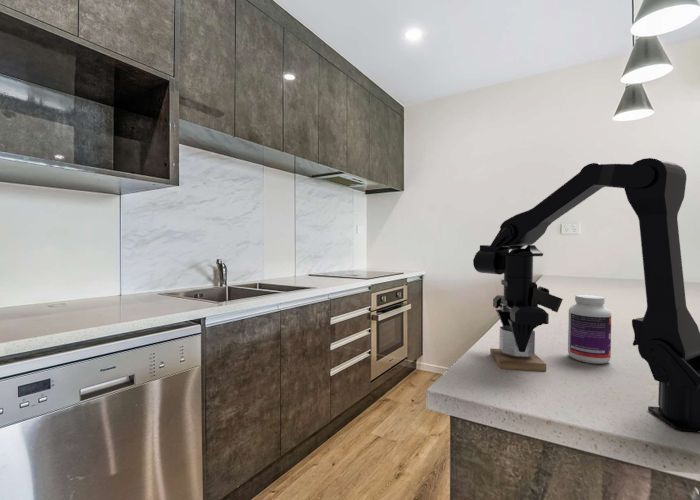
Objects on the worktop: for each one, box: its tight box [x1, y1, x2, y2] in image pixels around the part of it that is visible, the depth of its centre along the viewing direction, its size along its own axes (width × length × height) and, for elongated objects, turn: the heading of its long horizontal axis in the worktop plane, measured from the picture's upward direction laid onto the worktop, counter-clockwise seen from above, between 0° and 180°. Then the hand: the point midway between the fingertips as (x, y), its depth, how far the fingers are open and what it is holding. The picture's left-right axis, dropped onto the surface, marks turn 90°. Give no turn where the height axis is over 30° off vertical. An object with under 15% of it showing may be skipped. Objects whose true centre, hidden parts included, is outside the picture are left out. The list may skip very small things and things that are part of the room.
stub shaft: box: [489, 348, 547, 372], centre depth 78 cm, size 9×9×6 cm
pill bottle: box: [567, 294, 612, 365], centre depth 80 cm, size 8×8×14 cm
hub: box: [498, 325, 536, 357], centre depth 78 cm, size 6×6×5 cm
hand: (516, 347), depth 78 cm, fingers closed on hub, 6 cm apart
